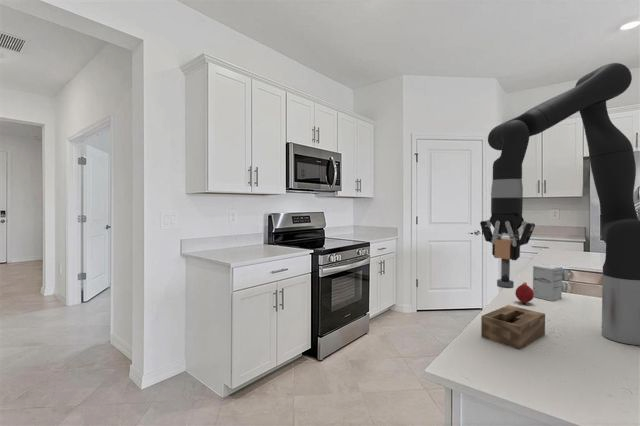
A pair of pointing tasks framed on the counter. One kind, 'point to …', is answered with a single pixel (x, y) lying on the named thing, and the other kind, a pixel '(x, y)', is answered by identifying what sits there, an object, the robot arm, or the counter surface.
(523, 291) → the onion
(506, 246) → the brown square-topped part
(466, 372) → the counter surface
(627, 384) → the counter surface
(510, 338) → the keyhole block
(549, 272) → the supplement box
